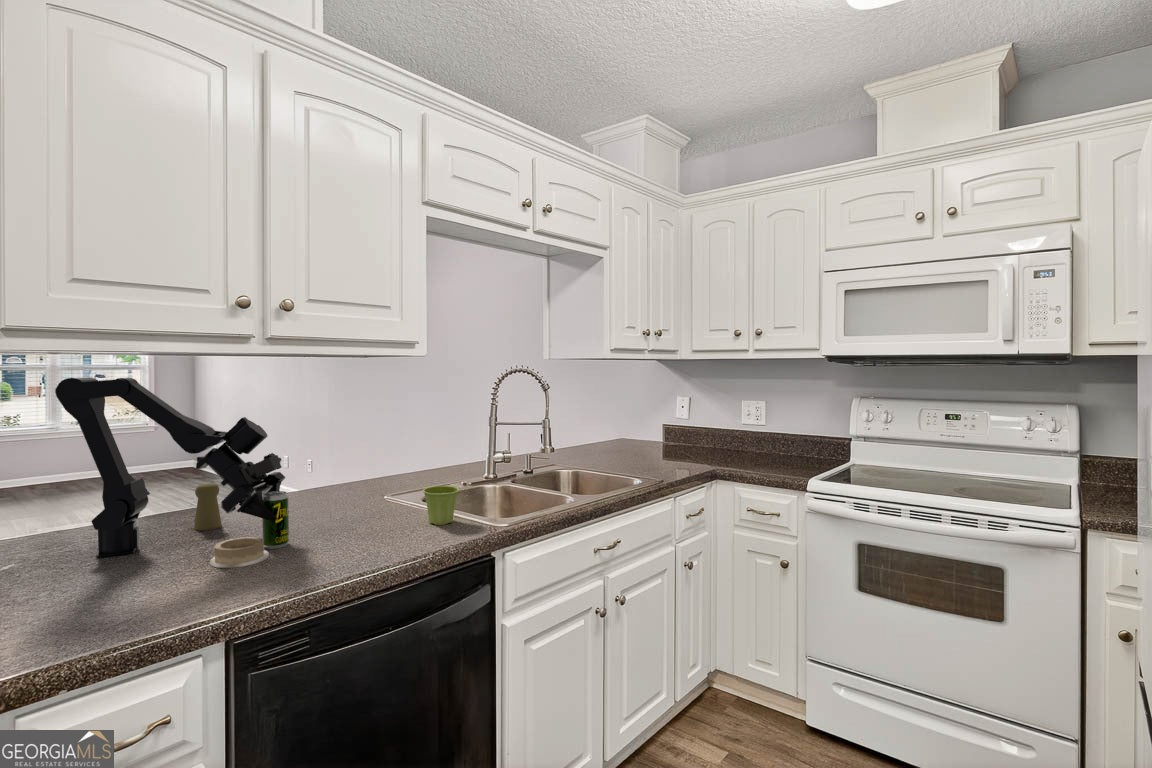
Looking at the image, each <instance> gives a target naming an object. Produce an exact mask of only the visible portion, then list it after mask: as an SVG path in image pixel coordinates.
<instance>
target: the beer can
mask: <svg viewBox="0 0 1152 768" xmlns="http://www.w3.org/2000/svg"><path fill="white" fill-rule="evenodd" d="M262 499H263V501H264V502H265V503H266V504H267V505H268V507H269V508H270V509H271V510H272V512H273V513H274V514H275V515H276V517H277V520H276V521H275V522H272V521H269V520H266V519H263V518H261V519H262V539H263V541H264V548H265V549H268V550H271V549H272V550H274V549H280V548H284V547H287V546H288V544H289V542H290V536H289V535H290V532H289V531H290V527H289V526H290V525H289V524H290V523H289V518H290V517H289V515H290V514H289V513H290V511H289V495H288V491H284V490H283V491H282V490H280V491H274V492H268V493H264V494H263V498H262Z"/></svg>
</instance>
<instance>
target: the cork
mask: <svg viewBox="0 0 1152 768" xmlns="http://www.w3.org/2000/svg"><path fill="white" fill-rule="evenodd" d="M194 494H195V496H196V497H197V502H196V503H197V504H196V510H195V511H196V512H195V519H194V526H193V530H195V531H210V530H211V531H212V530H216V529H219V528H222V526H223V524H222V519H221V513H220V507H219V501H218V497H217V496H218V495H219V494H220V486H219V485H218V484H217V483H213V482H212V483H211V482H210V483H202V484H199V485H197V486H196V488H195V491H194Z"/></svg>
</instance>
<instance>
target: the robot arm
mask: <svg viewBox="0 0 1152 768" xmlns="http://www.w3.org/2000/svg"><path fill="white" fill-rule="evenodd" d="M54 393H55V397H56V398H57V400H58V401H59V402H60V404H61V406H62V408H64V410H65V411H66V412H67V414H69V415H70V416H72V417H73V418H74V419H75V420H76V421H77V423H78V426H79V428H80V430H81V433H82V434H83V437H84V440H85V441H86V445H87V447H88V449H89V451H90V454H91V456H92V459H93V461H94V464H95V466H96V468H97V471H98V473H99V475H100V477H101V480H102V494H101V495H102V496H101V498H102V503H103V504H102V505H103V510H101V512H100V513H98V514H97V515H96V516H95V517H94V518H92V520H91V524H92V527H93V529H94V530H95V531H97V544H98V545H97V547H98V549H97V550H98V551H97V553H96V554H95V555H96V556H95V557H96V558H102V557H103V558H104V557H111V556H112V557H113V556H121V555H130V554H134V553H135V551H136V549H138V548H139V546H140V527H138V526H137V523H136V522H137V521H136V520H137V519H138V518H139V517H140V514H141V512H142V511H144V510H145V509H146V507H147V505H148V504H149V496H150V495H151V493H150V491H148V489H147V488H146V484H145V479H144V478H143V477H141V478H137V479H135V478H134V477H133V476H132V475H131V474H130V472H129V471H128V468H127V467H126V464H125V461H124V459H123V457H122V454H121V452H120V449H119V447H118V444H117V442H116V440H115V438H114V434H113V433H112V430H111V427H110V426H109V423H108V421H107V417H106V415H105V409H106V407H105V406H106V397H107V398H108V397H119V398H120V399H122V400H123V401H125V402H126V403H128V404H129V405H131V406H132V407H134V408H135V409H137V410H138V411H139V412H141V413H142V414H144V415H145V416H147V417H148V418H150V419H151V420H152V421H154V422H155V423H156V424H158V425H159V426H161V427H162V428H164V429H165V430H166V431H167V433H169V435H170V437H171V438H172V439H173V441H174V442H175V443H176V444H177V445H178V446H179V447H180V448H181V449H182V450H183V451H184V452H186V453H188V454H193V455H194V454H201V453H203V452H204V451H206V450H209V449H210V450H209V451H208V452H207V453H206V454H205V455H204V456H198V457H196V466H195V468H196V470H201V469H206V468H207V467H209V469H211V470H212V471H213V472H214V473H215V474H216V475H218V477H219V478H221V479H222V480H221V482H220V484H221V485H222V487H225V486H229V487H230V488H231V489H232V491H230V492H229V494H227V495H226V497H224V498H223V500H222V501H221V502H220V505H221V507H220V508H221V509H222V511H224V512H225V513H226V514H230V513H232V512H235V511H236V512H237V513H243V514H246V515H250V516H253V517H257V518H260V519H262V518H263V519H266V520H269V521H272V522H275V521H276V520H277V517H276V515H275V514H274V513H273V512H272V510H271V509H270V508H269V507H268V505H267V504H266V503H265V502H264V501H263V499H262V498H263V494H264V493H268V492H274V491H281V490H280V488H281V485H282V482H283V481H284V480H285V479H286V476H285V475H283V473H282V472H281V471H276V470H279V469H282V468H283V467H282V464H281V461H282V458H281V457H279V456H278V455H276V454H275V453H273V452H271V453H269V454H267V455H264V456H263V460H261V461H258V462H255V463H254V462H252V461H247V462H245V461H244V460H243V459H242V458H241V457H240V455H242V454H246V455H249V454H250V453H251V452H253V450H255V449H256V447H258V446H259V445H260V444H261V443H262V442H263V441H264V440H265V439H266V438H268V434H267V432H266V430H264V428H263V427H261V426H260V425H259V424H256V423H255V422H254V421H253V420H252V421H251V420H249V419H248V418H247V417H245V416H243V417H240V419H239V420H238V421H237V422H236V424H235V425H233V427H231V428H230V429H229V430H228V431H222V430H221V431H220V430H215V429H214V428H213V427H212V426H210V425H207V424H205V423H204V422H202V421H199V420H197V419H194V418H191V417H188V416H186V415H184V414H182V413H180V411H178V410H177V409H175V408H174V407H173V406H172V405H169V404H168V403H167V402H165V401H164V400H163V399H161V398H160V397H159V396H157V395H155V393H153V392H151V391H150V390H148V389H147V388H146V387H144V385H142V384H140V383H139V382H138V381H137V379H135V378H133V377H118V378H116V379H108V380H107V379H103V380H98V379H96V378H93V377H90V376H80V377H79V376H78V377H69V378H68V377H67V378H64V379H63V380H61V381H60V382H58V384H57V386H56V387H55V389H54ZM220 444H222V445H220ZM217 445H220V446H218V447H214V446H217ZM238 505H239V508H238V509H237V507H236V506H238Z"/></svg>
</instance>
